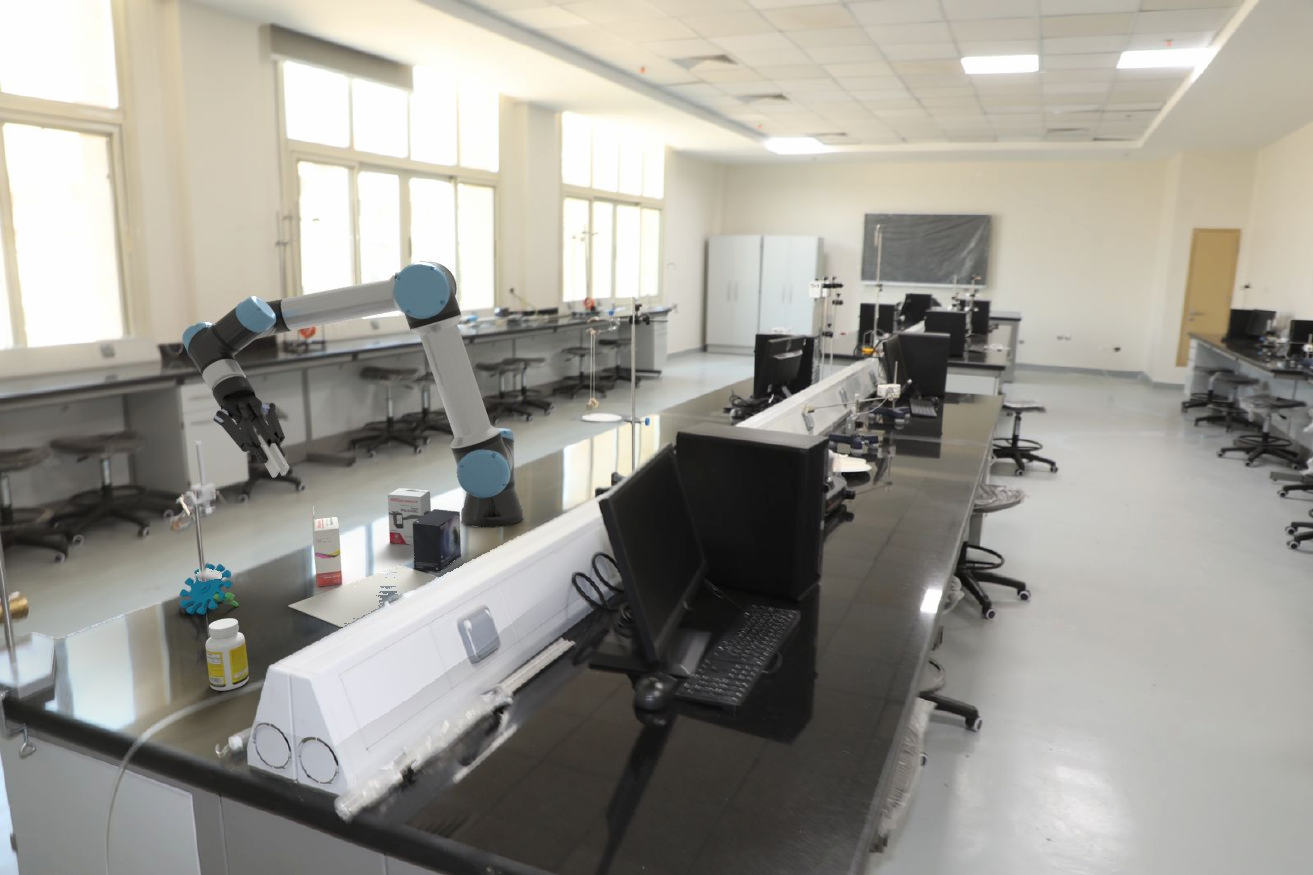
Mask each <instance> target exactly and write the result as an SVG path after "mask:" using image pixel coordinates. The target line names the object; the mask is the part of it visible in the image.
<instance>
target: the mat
mask: <svg viewBox="0 0 1313 875" xmlns="http://www.w3.org/2000/svg"><path fill="white" fill-rule="evenodd" d="M394 568H395V569H394ZM382 572H397V573H390V574H389V573H388V575H387V574H386V575H385V574H384V573H383V574H382V573H380V572H378V573H375V574H372V575H369V576H366V577H364V578H361V579H358V580H355V581H352V582H350V583H346V584H344V585H341V586H339V587H336V588H333V589H331V590H327V591H325V592H322V593H319V594H317V595H314V596H311V597H308V598H306V599H305V598H304V599H302V600H300V601H297V602H294V603H291V604H288V605H287V606H288V607H289V608H291V609H294V610H296V611H299V612H300V613H303V614H306V615H308V616H311V617H314V618H316V619H318V620H321V621H324V622H326V623H328V624H331V625H332V626H336V627H338V628H341V627H344V626H345V625H347V624H348V623H352V622H353V621H355V620H356V619H357V618H361V617H362V616H363V615H366V614H368V613H371V611H373V610H375V609H378V608H379V606H378V605H380V603H383V602H380V603H379V600H382V598H380V596H379V597H378V595H388V593H387V594H383V593H382V592H381V593H379V592H380V591H397V593H395V594H398V595H400V594H402V593H404V592H406V591H411V590H412V589H415V588H417V587H419V586H422V585H425V584H426V583H427V582H431V581H432V580H434V579H435V578H436V577H437V576H436V575H434V574H430V573H426V572H423V571H421V570H414V568H411V567H408V566H404V565H401V564H400V565H398V566H395V567H392V569H391V568H389V570H388V569H386V570H383V571H382ZM385 577H387V578H385ZM394 577H395V578H394ZM354 586H355V587H354ZM380 586H396V587H392V588H391V587H390V589H389V588H388V589H386V588H385V587H384V588H381V587H380ZM376 595H377V596H376ZM380 606H382V605H380ZM353 618H355V619H353ZM344 623H347V624H344Z"/></svg>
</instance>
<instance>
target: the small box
mask: <svg viewBox="0 0 1313 875" xmlns="http://www.w3.org/2000/svg"><path fill="white" fill-rule="evenodd" d="M461 540H462V538H461V511H457V510H456V511H455V510H446V509H439V508H435V509H433V510H432V509H431V512H429V513H428V514H426V515H424V516H423V517H421V518H419V519H418V520H416V521H414V522H413V545H412V546H413V569H414V570H417V571H425V572H426V571H427V572H434V573H435V572H437V573H441V572H443V571H444V570H445V569H446V568H447V567H449V566H450V565H451V564H452V563H454V562H455V561H456V560H458V559H459V558H460V557H462V547H461V546H462V544H461ZM457 558H458V559H457ZM454 560H455V561H454ZM453 561H454V562H453ZM450 563H451V564H450ZM448 565H449V566H448Z"/></svg>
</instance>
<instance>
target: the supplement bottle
mask: <svg viewBox="0 0 1313 875" xmlns="http://www.w3.org/2000/svg"><path fill="white" fill-rule="evenodd" d="M239 628H240V626H239V621H238V620H237V619H236V618H228V617H227V618H221V619H217V620H215V621H213V622H211V623H210V624H208V634H209V638H208V639H207V640H206V642H205V655H206V664H207V671H208V681H209V685H210V688H211V689H212V690H215V691H218V692H219V691H225V692H226V691H230V690H234V689H237V688H241V687H242V686H243V685H245V684H246V683H247V682H248V681H249V679H250V676H249V675H250V674H249V663H248V654H247V646H246V639H245V638H246V637H245V636H244V634H243V633H242V632H239Z"/></svg>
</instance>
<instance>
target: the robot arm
mask: <svg viewBox="0 0 1313 875" xmlns="http://www.w3.org/2000/svg"><path fill="white" fill-rule="evenodd" d="M457 290H458V288H457V281H456V279H455V276H454V274H453V273H452V271H451V270H450V269H449V268H447V267H446V266H445V265H443V264H441V263H438V262H435V261H426V260H424V261H423V260H420V261H416V262H415V261H414V262H413V263H410V264H407V266H405V267H403V269H401V271H398V272H394V273H393V274H392V275H391V277H389V278H384V279H379V280H374V281H370V282H369V281H368V282H364V283H363V282H362V283H360V284H355V285H348V286H343V287H338V288H333V289H327V290H323V291H318V292H312V293H307V294H303V295H296V296H293V297H291V296H290V297H286V298H282V299H276V300H271V301H264V300H263V299H262V298H259V297H257V296H254V295H253V296H252V295H251V296H249V297H248V298H246V299H244V300H243V301H242V302H239V303H238V304H237V305H236V306H235V307H234V308H233V309H232V310H230V311H229V312H228V313H226V314H225V315H224V316H223V317H221V318H220V319H219V320H218V321H216V322H215V323H211V322H207V321H202V322H201V321H200V322H197V323H196V324H194V325H192V324H191V325H189V326H188V327H187V328H186V329H185V330H184V332H183V334H182V337H181V340H182V341H181V342H182V343H183V345H184V347H185V349H186V353H187V355H188V357H189V358H190V359H191V360H192V362H193V363H194V365H195V367H196V368H197V370H198V371H199V373H200V374H201V376H202V379H203V380H204V382H205V384H206V386H207V387H208V389H209V391H210V392H211V393H212V395H213V398H214V399H215V401H216V403H217V405H218V406H219V407H220V410H219V409H218V410H217V411H216V413H215V414H214V416H213V418H212V419H213V421H214V422H215V423H217V424H218V425H219V426H221V427H222V428H223V429H224V431H225V432H226V433H227V435H229V437H230V438H231V440H233V441H234V442H235V444H236V445H237V446H238V448H239V449H240V450H241V451H242V452H243V453H247V452H250V454H251V456H256V458H257V460H258V462H259V463H260V464H261V465H263V464H264V466H265V467H266V470H268V473H269V474H270V476H271V477H272V478H277V476H278V475H279V473H280V475H281V477H282V476H285V475H286V474H287V473H288V472H289V470H290V468H291V467H290V466H289V464H288V462H287V461H286V459H285V457H286V452H284V450H283V448H282V446H281V445H282V443H283V442H284V440H285V438H286V436H285V433H284V431H283V428H282V426H281V423H280V420H279V418H278V415H277V412H276V403H274V402H270V403H269V404H267V403H263V401H262V400H261V399H259V397H257V395H256V393H255V389H254V388H253V386H252V384H251V383H250V381H249V379H248V378H247V376H246V374H245V372H244V371H243V369H242V367H241V366H240V364H239V363H238V361H237V360H236V358H235V355H236V354H238V353H240V351H242V350H243V349H244V348H245V347H247V346H248V345H249V344H251V343H252V342H253V341H255V340H257V339H261V338H265V337H269V336H273V335H274V336H275V335H278V334H284V333H289V332H292V331H297V330H303V329H307V328H314V327H319V326H324V325H330V324H334V323H340V322H345V321H349V320H355V319H361V318H366V317H372V316H377V315H383V314H388V313H393V312H397V311H399V312H401V313H402V314H404V316H405V319H406V322H407V324H408V327H409V331H411V332H412V333H414V334H415V335H418V336H419V338H420V340H421V344H422V345H423V349H424V352H425V356H426V358H427V361H428V363H429V367H430V369H431V372H432V375H433V378H434V382H435V384H436V388H437V390H438V393H439V396H440V399H441V402H442V404H443V408H444V410H445V414H446V417H447V419H448V421H449V425H450V429H451V431H452V433H453V439H452V441H451V443H450V448H451V451H452V452H451V453H452V455H453V458H454V460H455V464H456V466H457V467H456V477H457V480H458V484H459V485H460V487H461V488H462V489H463V490H464V492H466V494H465V498H464V502H463V507H462V508H461V511H460V522H462V524H464V525H467V526H469V527H474V528H500V527H506V526H510V525H513V524H517V523H519V522H521V521H522V520H523V518H524V514H523V507H522V504H520V499H519V496H518V492H517V489H516V483H515V481H516V480H515V478H516V477H515V476H516V475H515V444H514V443H515V437H514V432H513V430H511V429H510V428H503V427H502V428H500V427H498V428H497V427H495V426H493V425H492V424H491V421H490V418H489V415H488V413H487V410H486V407H485V404H484V401H483V397H482V395H481V391H480V388H479V385H478V383H477V380H476V377H475V373H474V371H473V368H472V365H471V360H470V359H469V355H468V352H467V349H466V346H465V343H464V340H463V337H462V334H461V332H460V328H459V325H458V324H459V321H460V320H461V317H462V312H461V309H460V306H459V303H458V300H457V297H456V295H457ZM264 416H265V418H264ZM254 428H255V429H254ZM256 432H258V434H259V435H260V436H261V439H262V440H263V441H264V443H265V444H264V445H262V442H261V440H260V438H259V437H258V435H257V433H256ZM522 517H523V518H522ZM521 519H522V520H521ZM516 522H517V523H516Z"/></svg>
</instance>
